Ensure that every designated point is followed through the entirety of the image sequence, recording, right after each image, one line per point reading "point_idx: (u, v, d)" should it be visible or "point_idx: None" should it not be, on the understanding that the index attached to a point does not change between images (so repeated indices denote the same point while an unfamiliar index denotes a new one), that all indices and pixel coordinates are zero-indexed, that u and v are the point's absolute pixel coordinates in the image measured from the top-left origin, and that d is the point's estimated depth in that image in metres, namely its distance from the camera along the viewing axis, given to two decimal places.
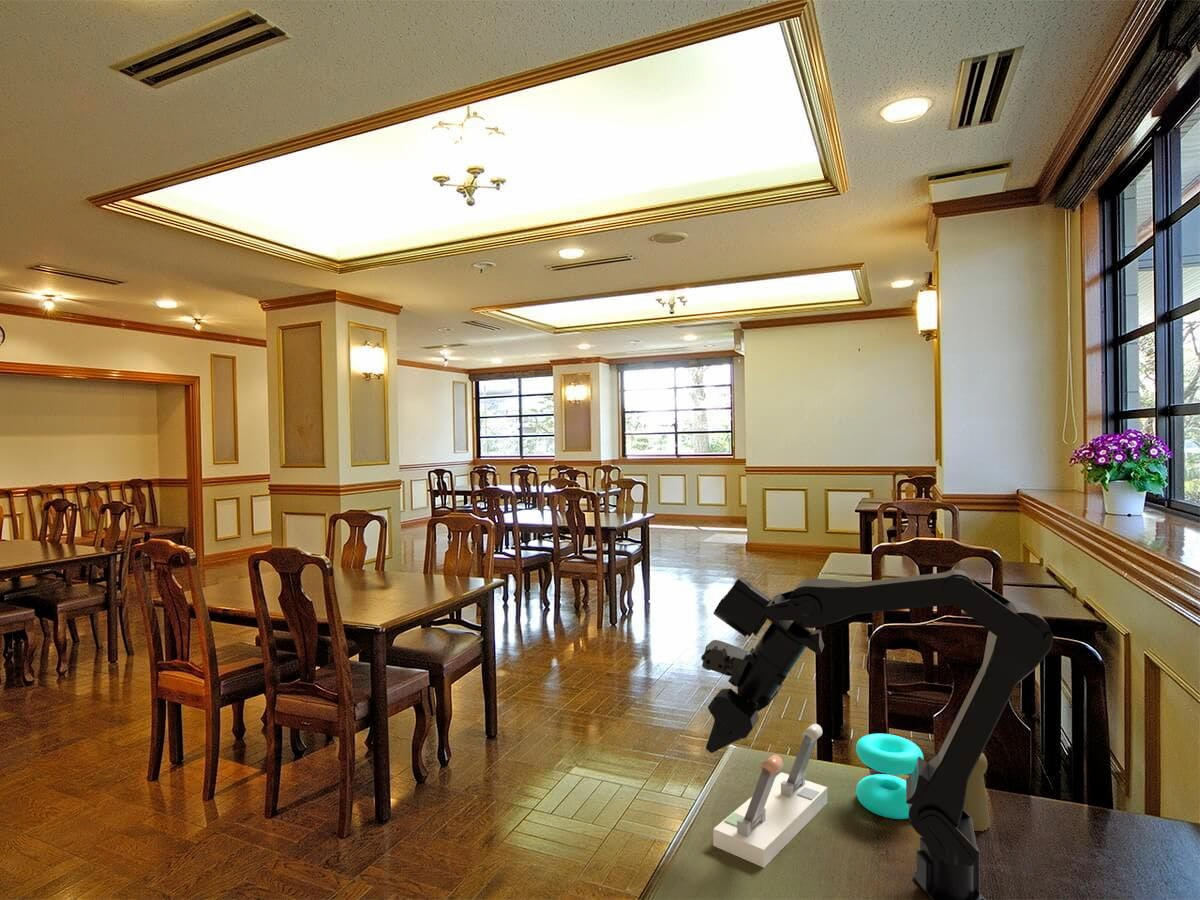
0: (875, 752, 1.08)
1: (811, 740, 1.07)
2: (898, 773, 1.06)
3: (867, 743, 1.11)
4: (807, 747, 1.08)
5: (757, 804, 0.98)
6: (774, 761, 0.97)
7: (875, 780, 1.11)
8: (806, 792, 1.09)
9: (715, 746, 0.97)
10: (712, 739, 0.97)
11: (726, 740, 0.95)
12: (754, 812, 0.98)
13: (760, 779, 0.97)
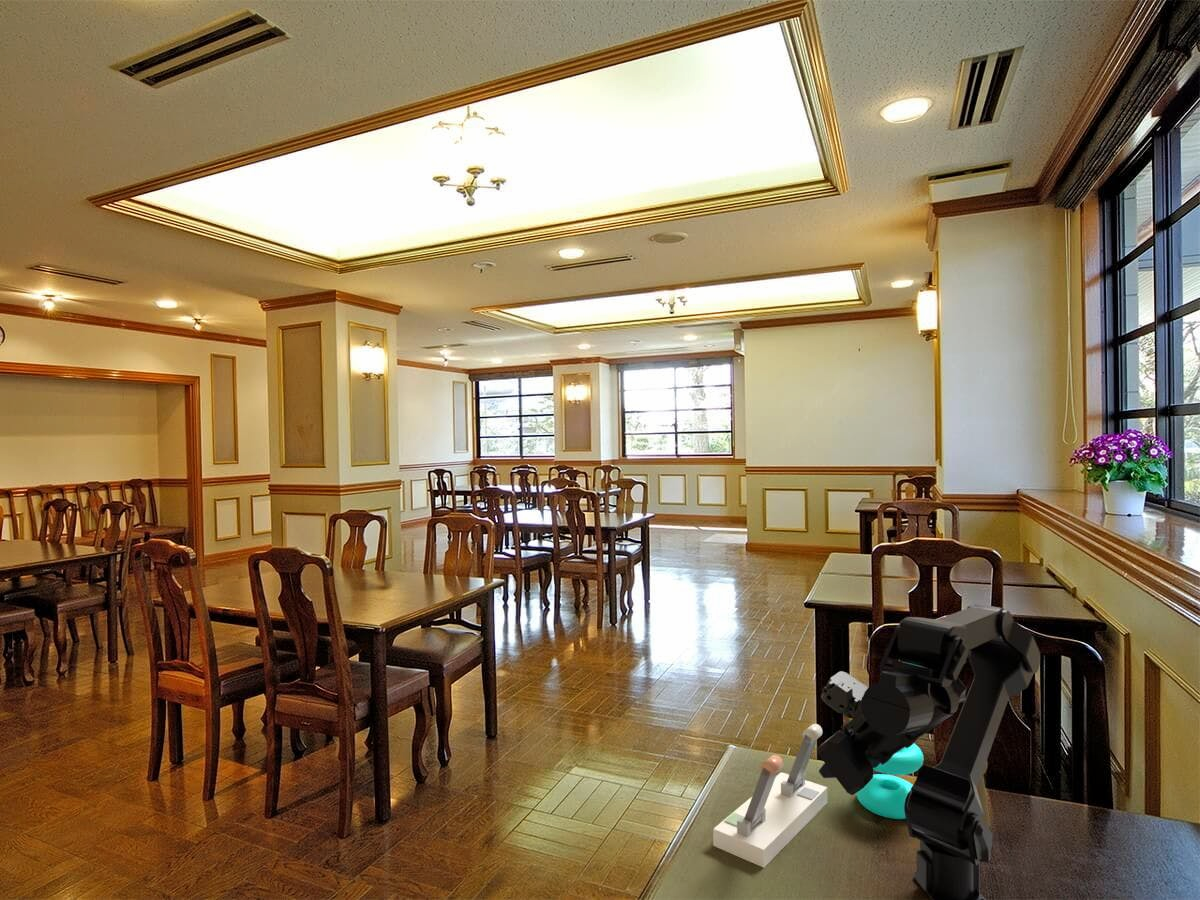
0: None
1: (811, 740, 1.07)
2: (898, 773, 1.06)
3: None
4: (807, 747, 1.08)
5: (757, 804, 0.98)
6: (774, 761, 0.97)
7: (875, 780, 1.11)
8: (806, 792, 1.09)
9: (830, 773, 0.91)
10: None
11: None
12: (754, 812, 0.98)
13: (760, 779, 0.97)
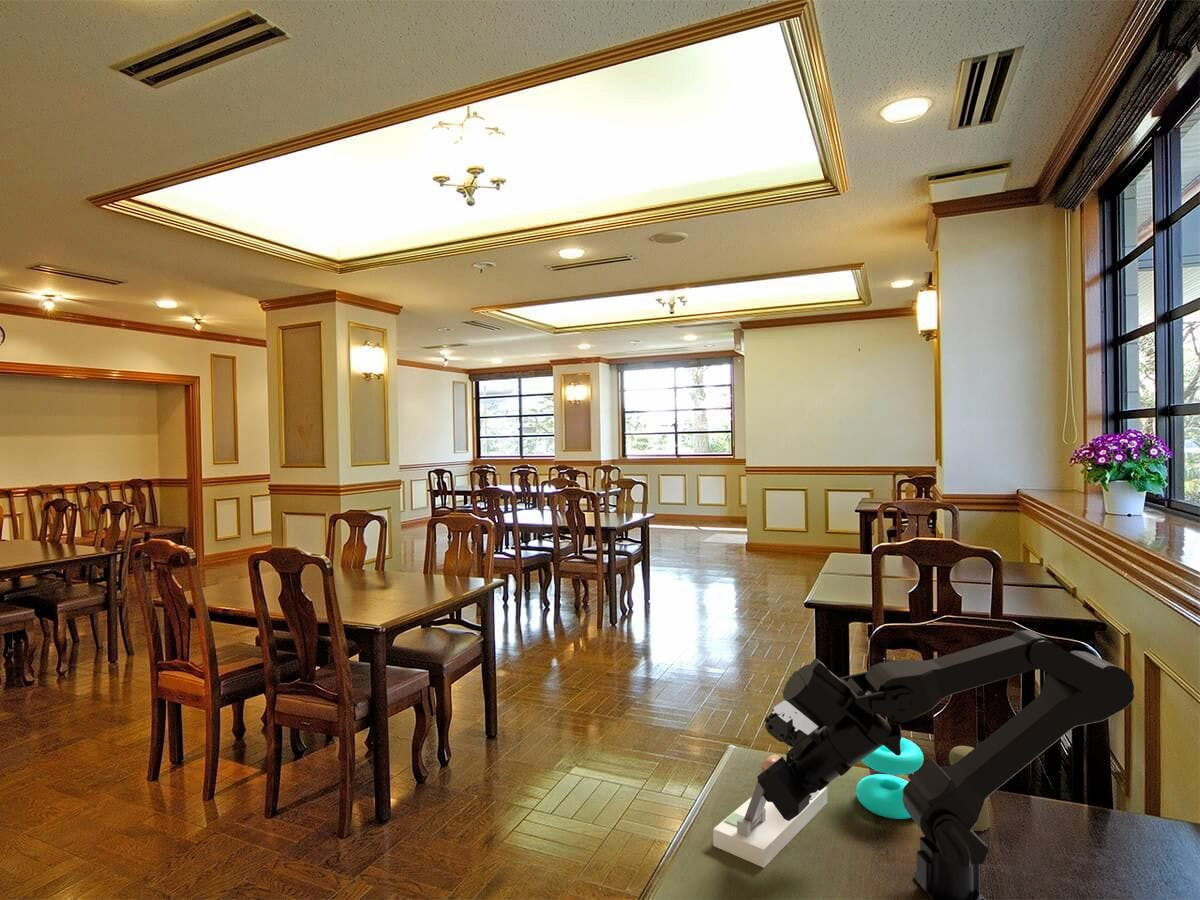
0: (875, 752, 1.08)
1: None
2: (898, 773, 1.06)
3: None
4: None
5: (757, 804, 0.98)
6: (773, 761, 0.97)
7: (875, 780, 1.11)
8: None
9: None
10: None
11: None
12: (754, 812, 0.98)
13: None
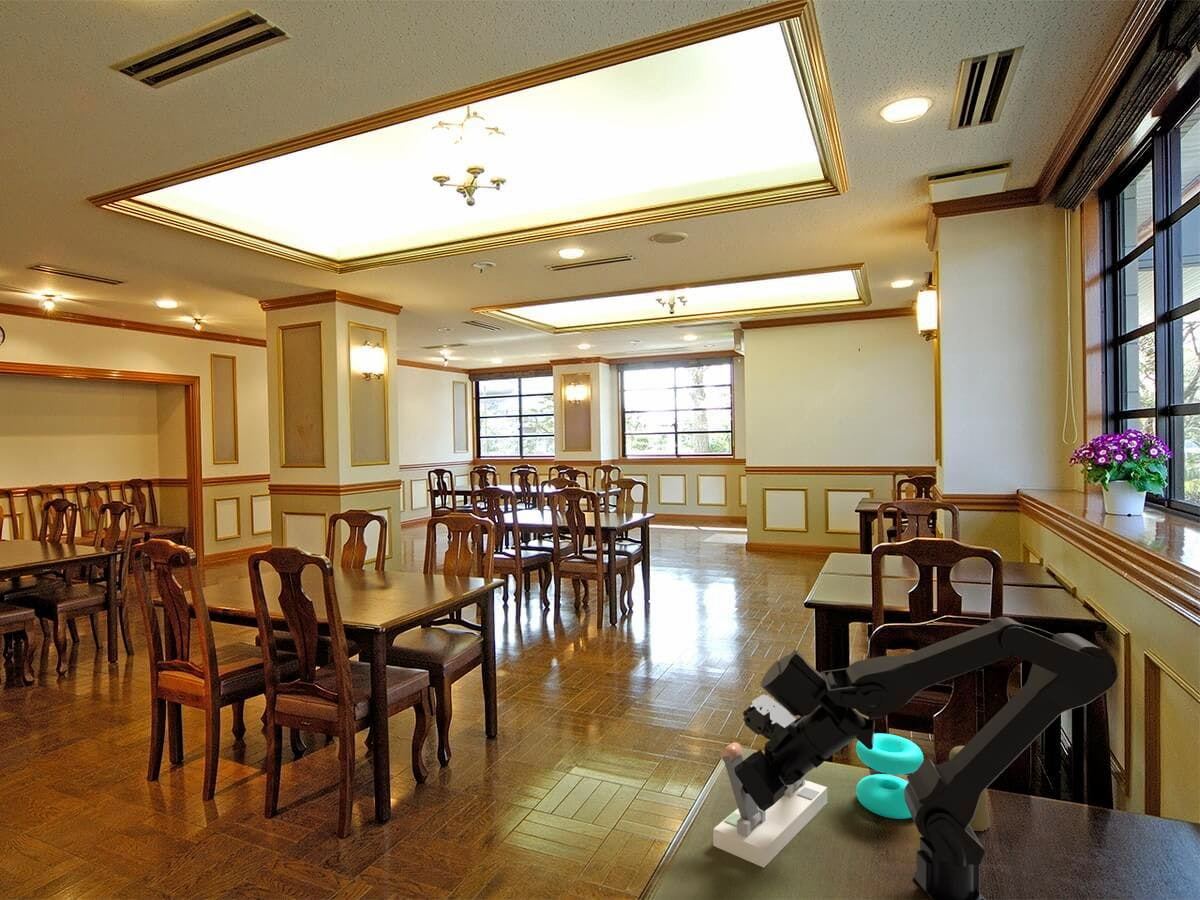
0: (874, 752, 1.08)
1: None
2: (898, 772, 1.06)
3: None
4: None
5: (740, 796, 1.00)
6: (729, 746, 1.02)
7: (875, 780, 1.11)
8: (806, 792, 1.09)
9: None
10: None
11: None
12: (743, 806, 0.99)
13: (728, 770, 1.01)
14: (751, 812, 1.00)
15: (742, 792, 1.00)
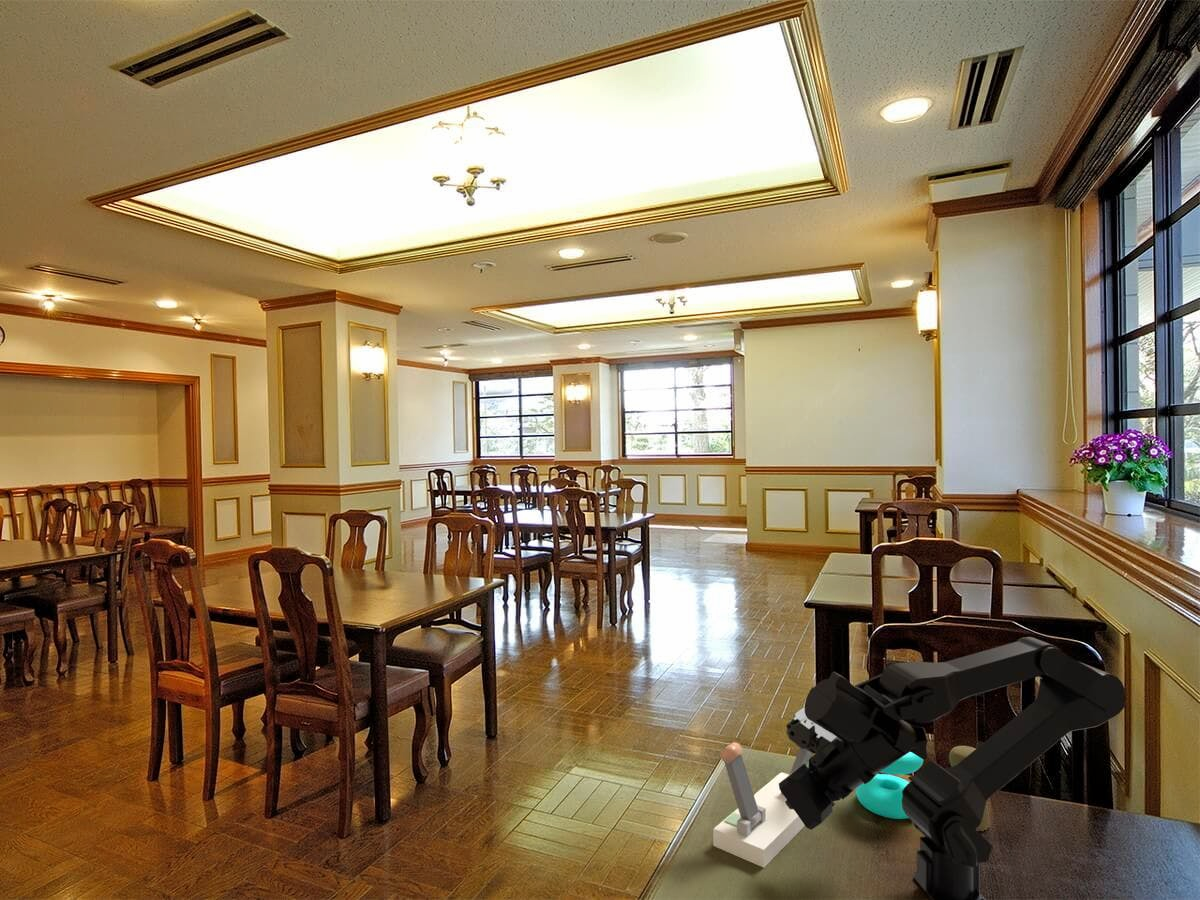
0: None
1: None
2: (898, 772, 1.06)
3: None
4: None
5: (740, 796, 1.00)
6: (729, 746, 1.02)
7: (875, 780, 1.11)
8: None
9: None
10: None
11: None
12: (743, 806, 0.99)
13: (728, 770, 1.01)
14: (751, 812, 1.00)
15: (742, 792, 1.00)
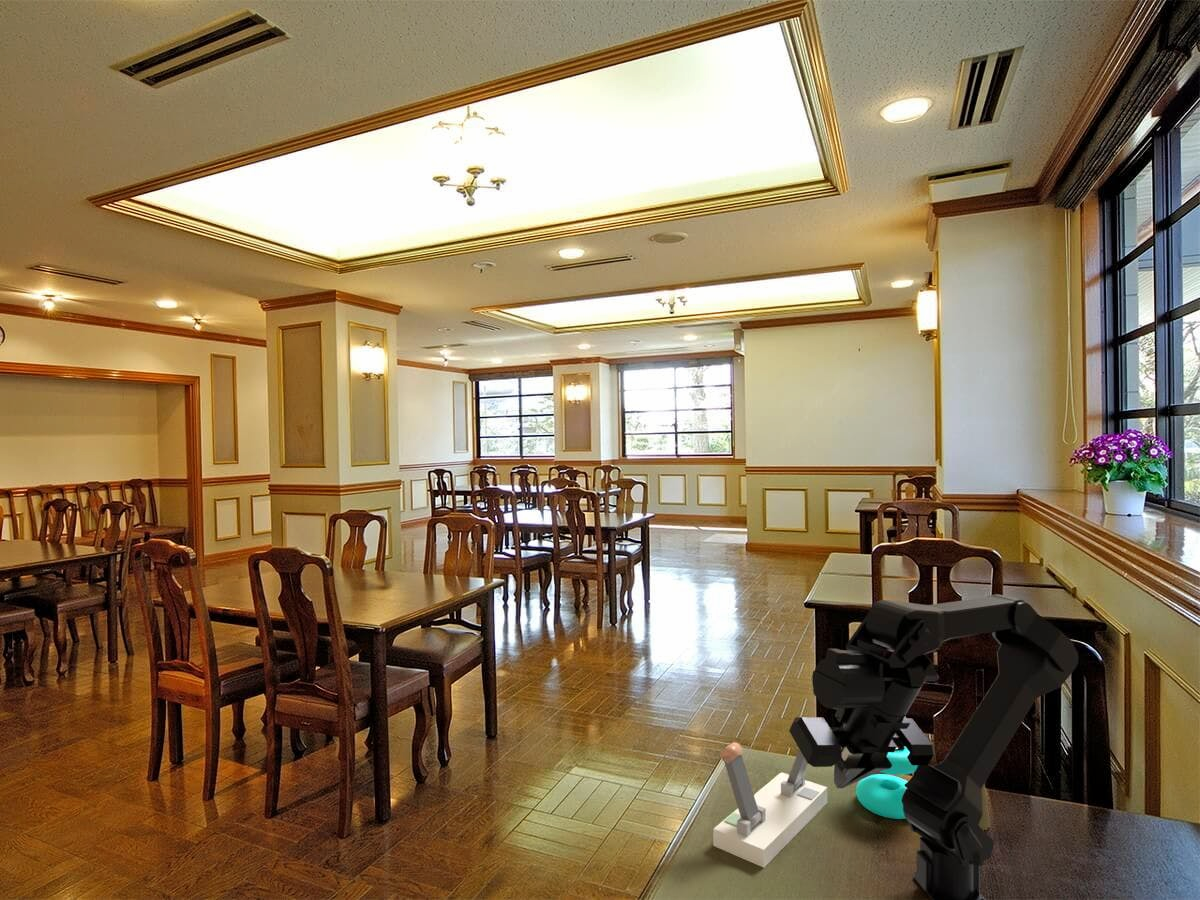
0: None
1: None
2: (898, 773, 1.06)
3: None
4: None
5: (740, 796, 1.00)
6: (729, 746, 1.02)
7: (874, 780, 1.11)
8: (806, 792, 1.09)
9: (839, 779, 0.92)
10: (836, 771, 0.92)
11: (844, 773, 0.90)
12: (743, 806, 0.99)
13: (728, 770, 1.01)
14: (751, 812, 1.00)
15: (742, 792, 1.00)
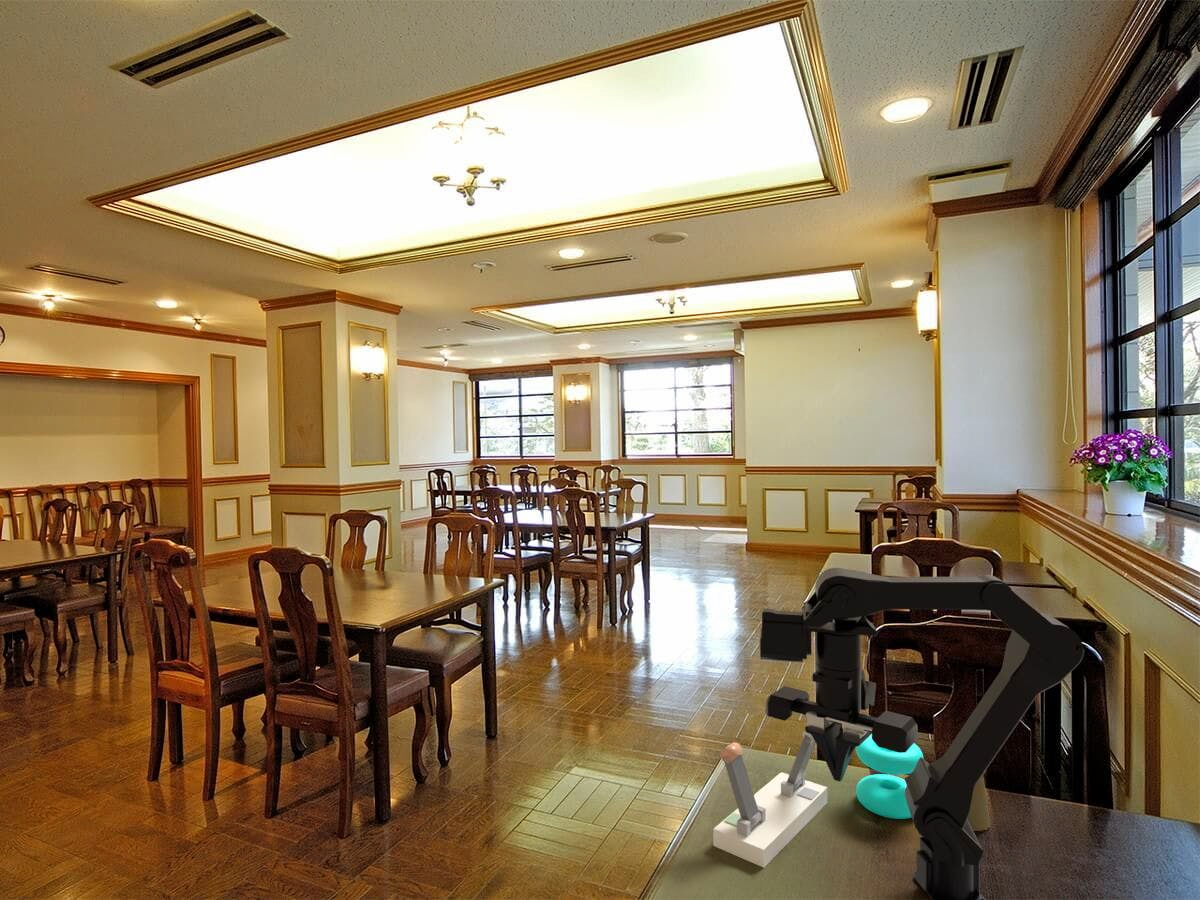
0: (874, 752, 1.08)
1: (811, 740, 1.07)
2: (898, 772, 1.06)
3: (867, 742, 1.11)
4: (807, 747, 1.08)
5: (740, 796, 1.00)
6: (729, 746, 1.02)
7: (875, 780, 1.11)
8: (806, 792, 1.09)
9: None
10: None
11: None
12: (743, 806, 0.99)
13: (728, 770, 1.01)
14: (751, 812, 1.00)
15: (742, 792, 1.00)
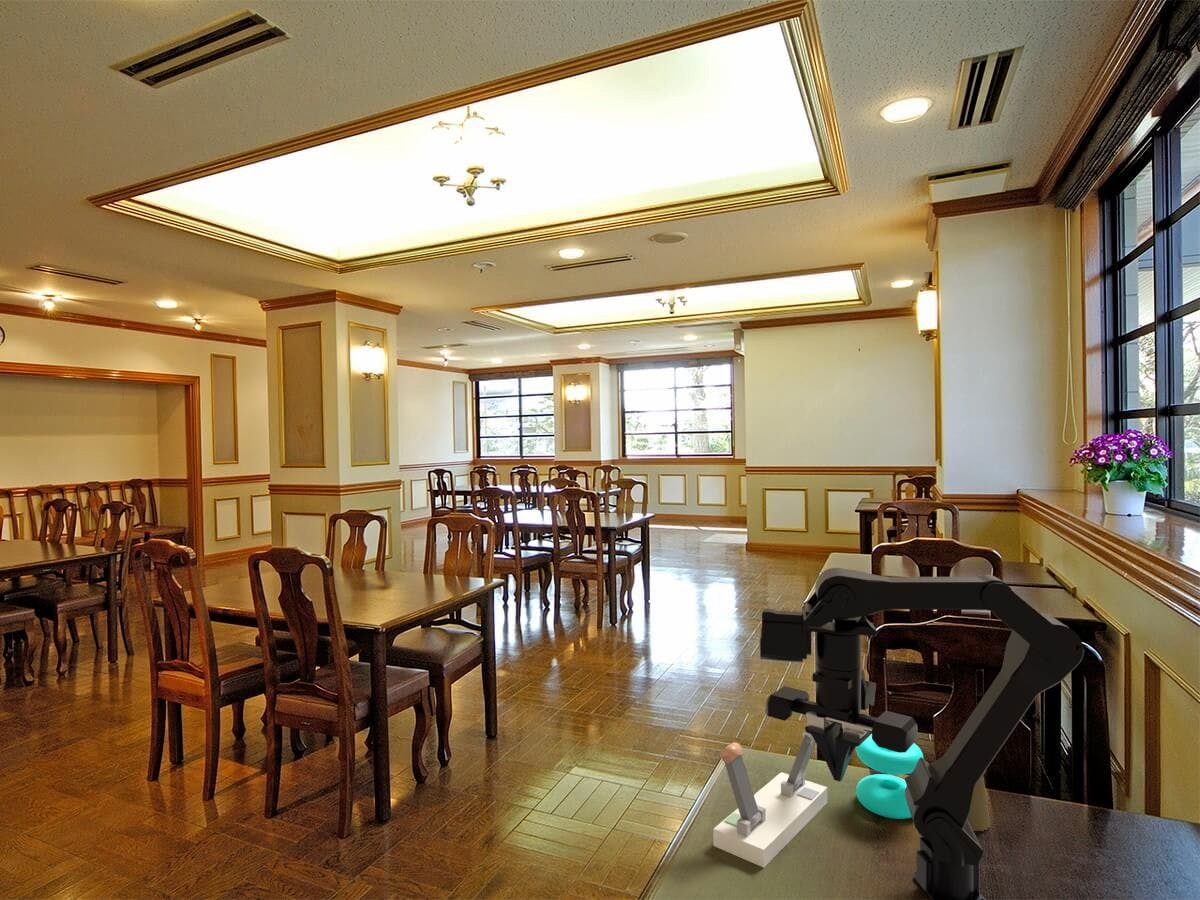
0: (874, 752, 1.08)
1: (811, 740, 1.07)
2: (898, 772, 1.06)
3: (867, 742, 1.11)
4: (807, 747, 1.08)
5: (740, 796, 1.00)
6: (729, 746, 1.02)
7: (875, 780, 1.11)
8: (806, 792, 1.09)
9: None
10: None
11: None
12: (743, 806, 0.99)
13: (728, 770, 1.01)
14: (751, 812, 1.00)
15: (742, 792, 1.00)
